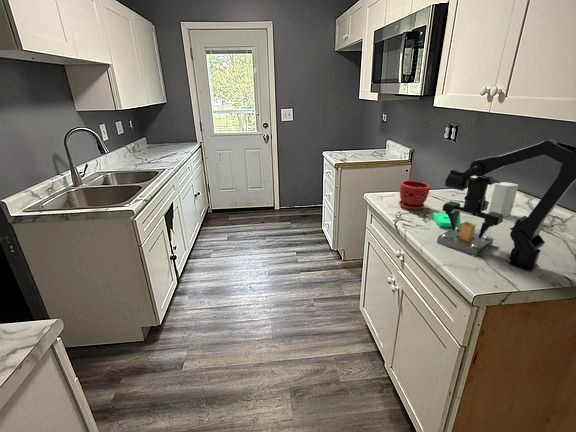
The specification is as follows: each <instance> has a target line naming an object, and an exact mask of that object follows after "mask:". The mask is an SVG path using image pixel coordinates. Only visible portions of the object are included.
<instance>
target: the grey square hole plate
mask: <svg viewBox="0 0 576 432" xmlns="http://www.w3.org/2000/svg"><path fill="white" fill-rule="evenodd" d="M460 229H461V227H456V229H455V230H453V229H452V228H450V229H449V230H447V231H445V232H443V233H442V234H440V235H438V236H437V241H436V243H437V244H441V245H443V246H446V247H449V248H451V249H454V250H456V251H460V252H462V253H465V254H468V255H471V256H473V257H477V256H478V257H479V255H481V254H482V253H483V252H485V250H487V249H488V248H490V247H492V245H493V243H494V238H492V237H490V236H488V235H483V236H482V237H481V238H480V239H479V234H480V233H476V232H474V234H473V238H472V241H470V242H469V241H466V240H463V239H460V238H459V234H460Z"/></svg>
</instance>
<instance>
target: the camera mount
mask: <svg viewBox="0 0 576 432" xmlns="http://www.w3.org/2000/svg"><path fill="white" fill-rule="evenodd" d="M450 201H452V202H456V203H460V204H461V202H460V201H458V200H449V201H448V202H450ZM432 218H433V221H434V222H436V223H435V224H436V225H439V226H440V227H446V228H448V227H449V228H452V225H451V222H450V219H449V217H448V215H447V214H445V212H433V214H432ZM456 227H459V228H461V212H459V214H458V217H457V224H456Z"/></svg>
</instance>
